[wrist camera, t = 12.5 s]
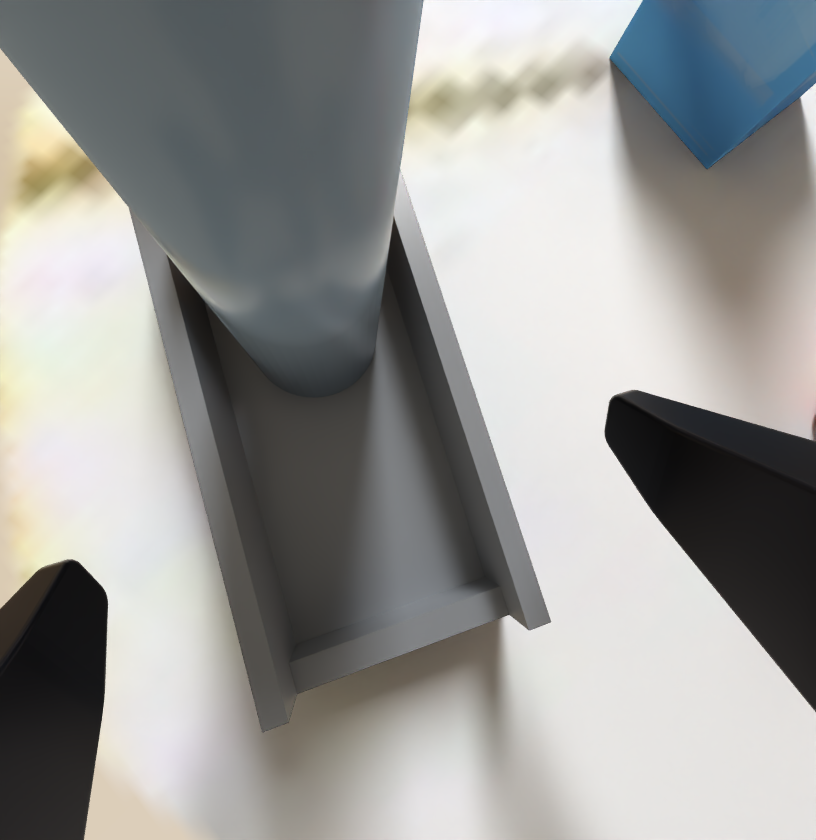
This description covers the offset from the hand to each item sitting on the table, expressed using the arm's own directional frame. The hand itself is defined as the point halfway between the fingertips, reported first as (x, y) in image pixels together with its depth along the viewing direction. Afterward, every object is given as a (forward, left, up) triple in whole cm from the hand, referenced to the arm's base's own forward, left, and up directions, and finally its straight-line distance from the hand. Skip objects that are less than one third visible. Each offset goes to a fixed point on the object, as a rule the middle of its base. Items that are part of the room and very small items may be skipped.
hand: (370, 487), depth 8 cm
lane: (+3, 0, -8) cm, 8 cm away
